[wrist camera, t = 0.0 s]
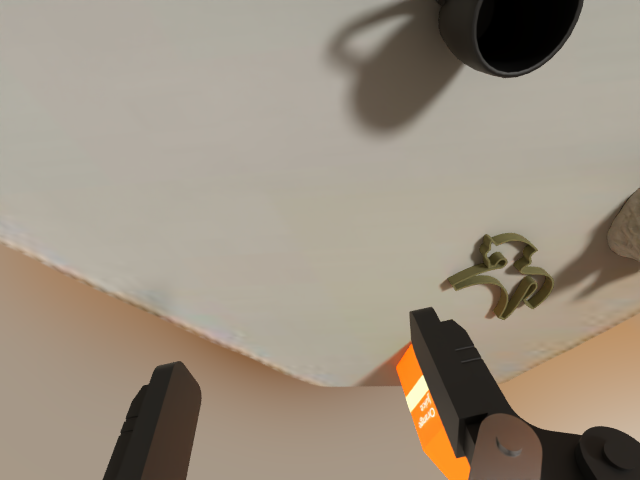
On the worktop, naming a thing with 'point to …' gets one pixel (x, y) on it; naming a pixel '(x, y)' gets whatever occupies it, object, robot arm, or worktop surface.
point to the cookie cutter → (498, 262)
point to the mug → (507, 32)
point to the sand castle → (627, 229)
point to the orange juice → (429, 419)
